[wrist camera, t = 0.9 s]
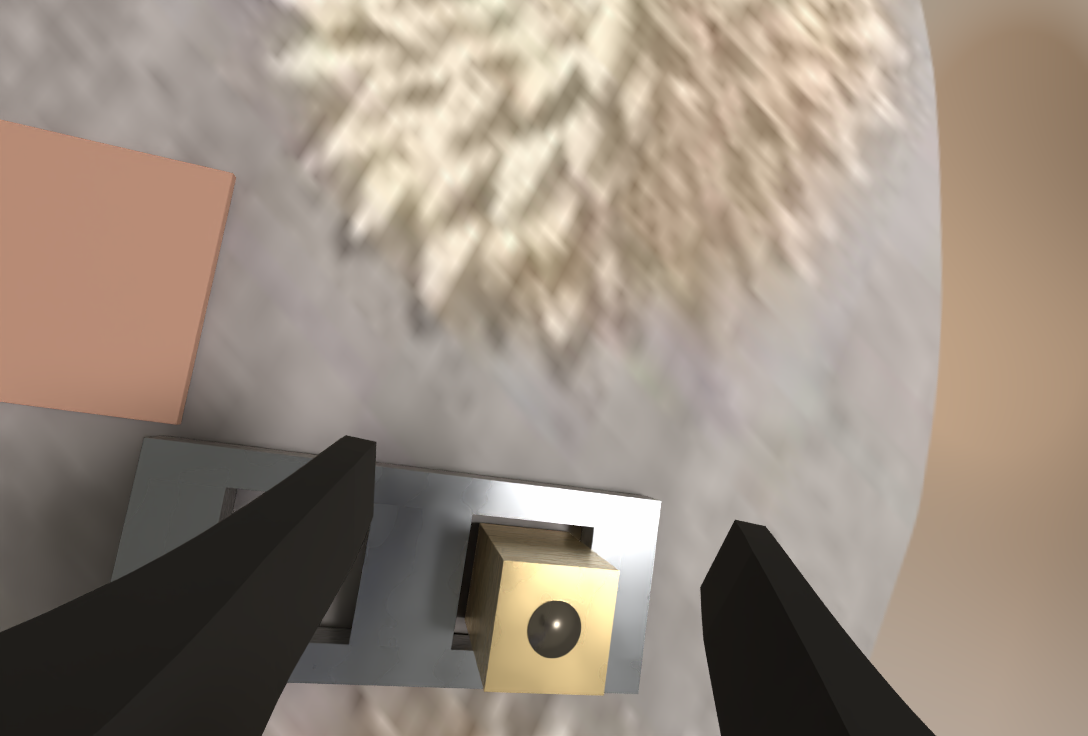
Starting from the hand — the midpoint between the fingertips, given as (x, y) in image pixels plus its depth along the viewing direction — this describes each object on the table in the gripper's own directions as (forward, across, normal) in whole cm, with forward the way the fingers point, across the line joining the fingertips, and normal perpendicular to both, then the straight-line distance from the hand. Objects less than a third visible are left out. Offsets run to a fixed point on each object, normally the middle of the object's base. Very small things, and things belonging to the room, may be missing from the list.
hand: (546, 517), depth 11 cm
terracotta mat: (+9, +18, +2) cm, 21 cm away
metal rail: (+7, +4, +11) cm, 14 cm away
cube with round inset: (+8, 0, +12) cm, 14 cm away
